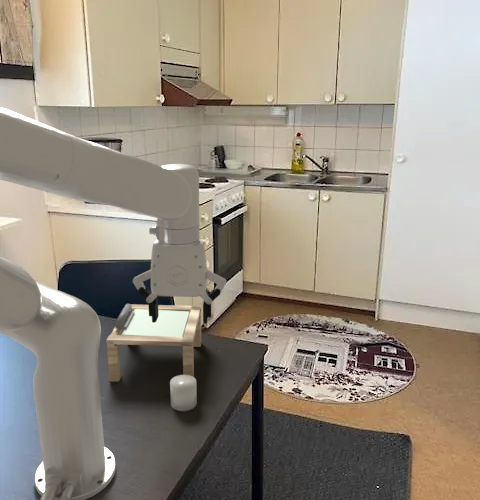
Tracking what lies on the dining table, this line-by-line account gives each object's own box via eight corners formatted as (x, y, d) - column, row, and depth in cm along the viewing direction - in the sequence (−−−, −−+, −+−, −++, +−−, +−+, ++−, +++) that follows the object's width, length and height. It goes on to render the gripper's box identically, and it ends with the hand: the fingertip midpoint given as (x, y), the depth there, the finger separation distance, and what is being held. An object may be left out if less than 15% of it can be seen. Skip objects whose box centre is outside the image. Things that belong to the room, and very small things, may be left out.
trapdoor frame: (192, 383, 107) (192, 342, 104) (109, 381, 108) (106, 339, 105) (201, 342, 124) (200, 306, 121) (129, 340, 125) (127, 304, 122)
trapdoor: (181, 341, 107) (181, 328, 106) (112, 338, 107) (111, 324, 106) (189, 315, 119) (189, 303, 118) (127, 312, 120) (126, 300, 119)
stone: (195, 411, 98) (194, 389, 97) (168, 410, 98) (168, 388, 97) (198, 396, 103) (197, 375, 102) (172, 395, 103) (172, 374, 102)
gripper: (126, 238, 87) (131, 328, 92) (225, 240, 86) (224, 330, 92) (135, 227, 94) (139, 310, 99) (227, 229, 94) (226, 312, 99)
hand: (180, 319), depth 95 cm, fingers open, 9 cm apart
